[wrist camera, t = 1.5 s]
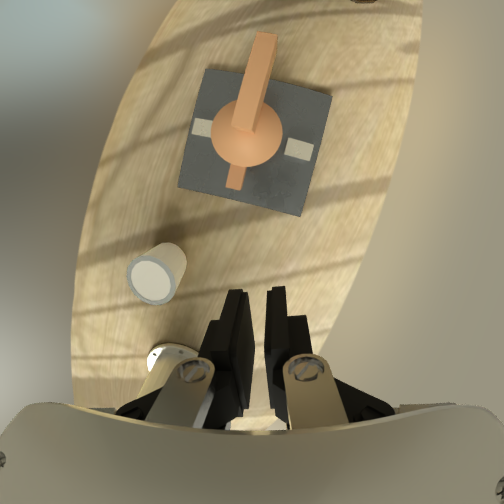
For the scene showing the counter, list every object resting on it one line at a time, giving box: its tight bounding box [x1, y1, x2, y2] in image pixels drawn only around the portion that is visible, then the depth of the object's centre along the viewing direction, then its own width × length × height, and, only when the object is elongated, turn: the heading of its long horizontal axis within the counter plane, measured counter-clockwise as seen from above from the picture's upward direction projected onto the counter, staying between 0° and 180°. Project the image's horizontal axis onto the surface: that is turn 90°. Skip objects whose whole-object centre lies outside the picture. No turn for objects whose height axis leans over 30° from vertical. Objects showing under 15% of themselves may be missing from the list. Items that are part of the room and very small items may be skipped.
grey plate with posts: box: [178, 69, 332, 217], centre depth 28 cm, size 16×16×8 cm
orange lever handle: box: [211, 31, 282, 191], centre depth 21 cm, size 14×6×6 cm, turn 166°
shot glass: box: [127, 243, 187, 305], centre depth 35 cm, size 7×7×7 cm
